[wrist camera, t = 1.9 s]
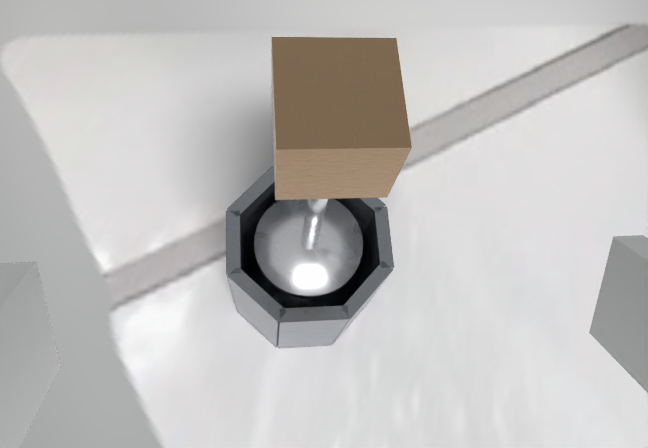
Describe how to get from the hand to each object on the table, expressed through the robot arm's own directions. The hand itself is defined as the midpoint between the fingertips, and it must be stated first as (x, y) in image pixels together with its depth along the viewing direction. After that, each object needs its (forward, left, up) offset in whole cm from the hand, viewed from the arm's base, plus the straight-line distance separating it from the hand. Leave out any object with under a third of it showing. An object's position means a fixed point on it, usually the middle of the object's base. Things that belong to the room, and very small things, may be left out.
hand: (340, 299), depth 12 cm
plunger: (-1, -8, -19) cm, 21 cm away
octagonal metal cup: (-1, -8, -28) cm, 29 cm away
